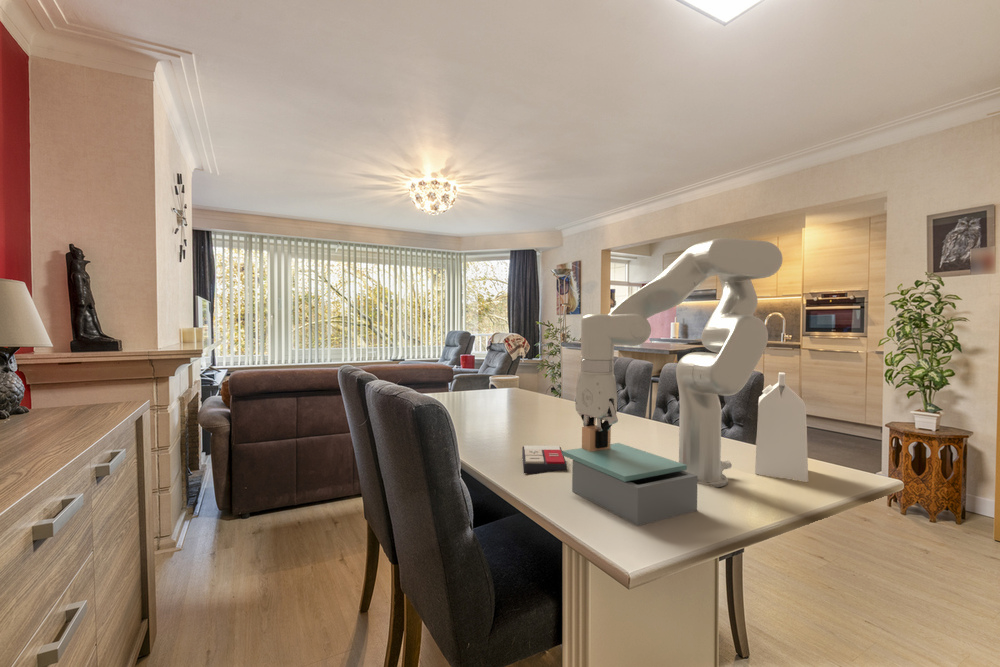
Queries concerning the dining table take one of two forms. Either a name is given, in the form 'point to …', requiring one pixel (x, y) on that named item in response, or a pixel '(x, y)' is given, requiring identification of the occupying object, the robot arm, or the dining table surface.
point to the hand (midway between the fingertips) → (596, 444)
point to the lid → (620, 458)
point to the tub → (637, 494)
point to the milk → (781, 433)
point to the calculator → (543, 459)
